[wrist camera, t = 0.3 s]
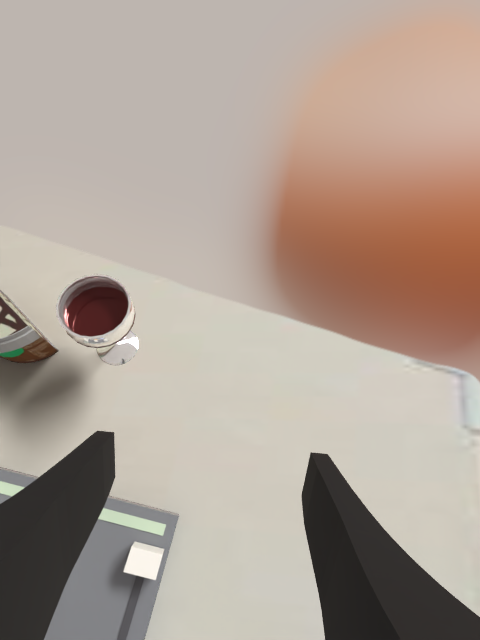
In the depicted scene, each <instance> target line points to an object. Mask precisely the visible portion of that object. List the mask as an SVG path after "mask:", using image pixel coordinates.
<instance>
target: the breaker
mask: <svg viewBox="0 0 480 640" xmlns="http://www.w3.org/2000/svg"><path fill="white" fill-rule="evenodd" d="M163 552H164V549H163V548H159V547H155V546H151V545H147V544H143V543H140V542H136V541H135V542H134V544H133V545H132V546H131V549H130V553H129V556H128V559H127V562H126V565H125V568H124V571H123V572H125V573H129V574H133V575H137V576H141V577H145V578H149V579H152V580H156V577H157V573H158V570H159V566H160V563H161V559H162V556H163Z"/></svg>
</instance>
